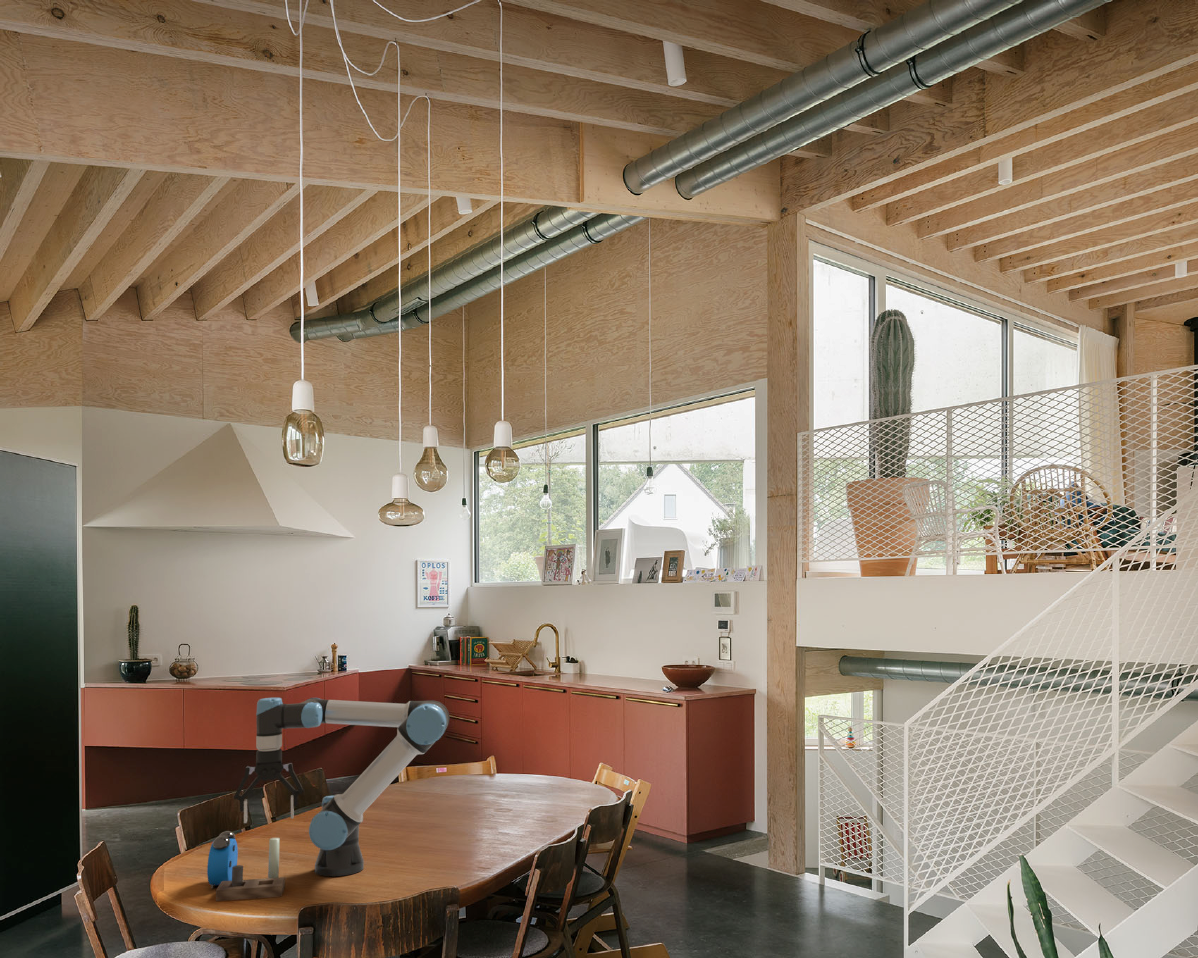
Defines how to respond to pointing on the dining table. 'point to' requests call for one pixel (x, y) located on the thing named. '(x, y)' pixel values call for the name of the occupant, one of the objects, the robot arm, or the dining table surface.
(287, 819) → the dining table surface
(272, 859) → the sage candle
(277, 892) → the walnut holder
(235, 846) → the alarm clock
